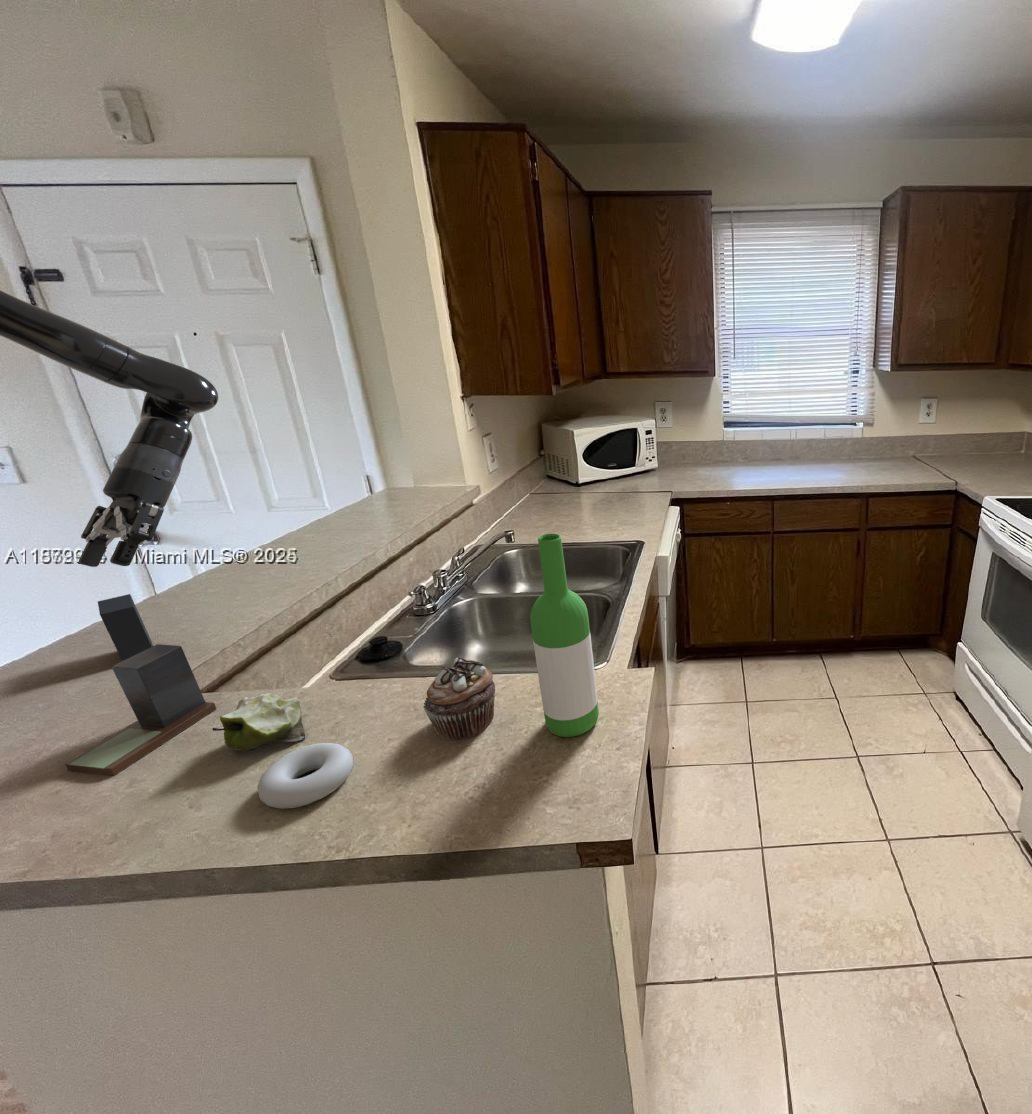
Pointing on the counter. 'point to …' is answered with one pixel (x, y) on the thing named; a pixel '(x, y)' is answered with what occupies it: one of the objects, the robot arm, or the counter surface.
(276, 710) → the fruit
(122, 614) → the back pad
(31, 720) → the counter surface
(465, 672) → the cupcake
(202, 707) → the grey block on board
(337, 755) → the donut
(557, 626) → the wine bottle
